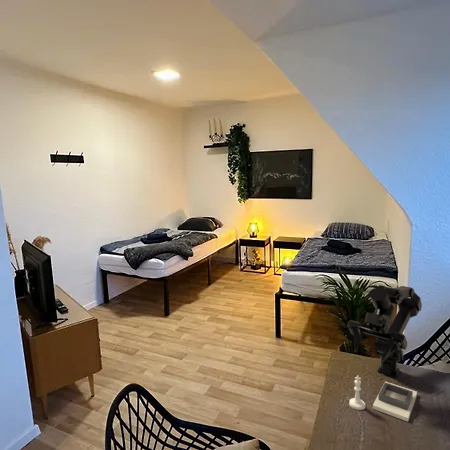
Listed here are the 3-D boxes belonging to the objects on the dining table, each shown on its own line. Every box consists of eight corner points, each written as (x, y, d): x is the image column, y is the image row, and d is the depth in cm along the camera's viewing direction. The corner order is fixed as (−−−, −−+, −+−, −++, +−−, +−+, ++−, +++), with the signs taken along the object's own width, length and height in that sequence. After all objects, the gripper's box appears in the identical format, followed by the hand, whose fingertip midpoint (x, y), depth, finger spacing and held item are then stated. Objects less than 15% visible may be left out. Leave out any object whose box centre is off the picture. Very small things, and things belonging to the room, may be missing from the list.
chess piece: (367, 410, 104) (367, 381, 102) (350, 408, 105) (351, 379, 103) (363, 400, 108) (364, 372, 107) (348, 399, 109) (348, 371, 108)
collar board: (384, 384, 117) (385, 376, 116) (416, 394, 111) (417, 386, 110) (372, 408, 104) (372, 399, 104) (407, 421, 98) (408, 412, 98)
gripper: (350, 298, 119) (335, 335, 112) (407, 310, 106) (393, 353, 99) (358, 315, 125) (343, 351, 118) (412, 329, 112) (400, 370, 105)
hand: (368, 355), depth 110 cm, fingers open, 9 cm apart
